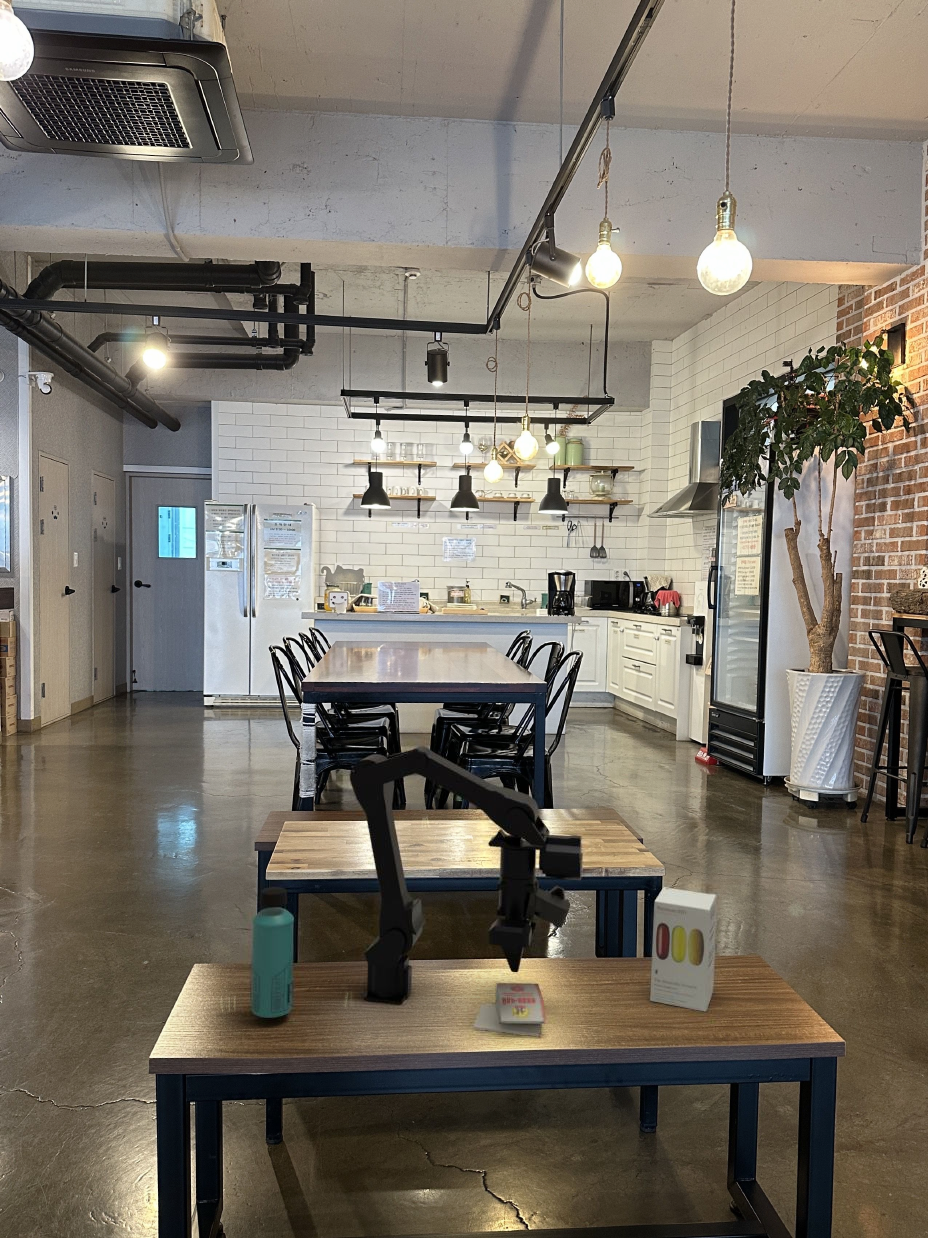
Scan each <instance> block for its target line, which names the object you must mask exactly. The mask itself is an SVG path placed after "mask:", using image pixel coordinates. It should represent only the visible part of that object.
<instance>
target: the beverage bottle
mask: <svg viewBox="0 0 928 1238" xmlns="http://www.w3.org/2000/svg"><path fill="white" fill-rule="evenodd" d="M287 893H288V892H287V890H286V888H284V887H277V886H273V887H272V886H271V887H266V888H264V889H262V890H261V891H260V899H259V906H262V907H266V908H263V909H261V910H260V911H258V913H257V914H255V916H254V917H253V918H252V946H251V948H252V949H251V950H252V951H251V952H252V953H251V956H250V957H251V963H250V967H251V980H249V981H250V983H251V984H250V991H249V992H250V993H249V994H250V998H249V999H250V1000H249V1001H250V1002H249V1003H250V1009H251V1012H252V1014H253V1015H255V1016H257V1017H260V1018H277V1017H283V1016H284V1015H287V1014H289V1013H290V1012H291V1010H292V1007H293V999H294V993H293V985H294V977H295V976H294V970H295V969H294V963H295V961H294V949H295V947H294V945H295V944H294V921H295V920H294V919H295V918H294V915H293V914H292V913H291V912H289V911H288V910H287V909H286V908H282V907H283V906H286V905H287V904H288V896H287V895H288V894H287Z"/></svg>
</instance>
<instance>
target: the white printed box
mask: <svg viewBox="0 0 928 1238" xmlns="http://www.w3.org/2000/svg"><path fill="white" fill-rule="evenodd" d="M495 984H496V986H495V1005H496V1011H497V1016H498V1021H499V1023H535V1024H542V1025H544V1024H547V1023H546V1022H547V1018H546V1011H544V1010H545V1005H544V1004H545V1003H544V998H543V995H542V991H541V989H540V985H539V983H525V982H524V983H521V982H517V983H516V982H514V983H511V982H509V983H508V982H506V983H505V982H502V983H501V982H497V983H495Z"/></svg>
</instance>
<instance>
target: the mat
mask: <svg viewBox="0 0 928 1238" xmlns="http://www.w3.org/2000/svg"><path fill="white" fill-rule="evenodd" d="M544 1011H545V1009H544ZM545 1012H546V1011H545ZM541 1028H542V1025H541V1024H535V1023H499V1021H498V1016H497V1011H496V1004H490V1003H482V1005H481V1007H480V1009H479V1012H478V1015H477V1017H476V1019H475V1021H474V1024H473V1029H472V1030H476V1029H481V1030H480V1031H485V1030H490V1031H489V1032H496V1033H502V1032H506V1033H505V1034H511V1033H513V1035H520V1034H524V1035H523V1036H528V1035H531V1036H530V1037H537V1036H539V1037H540V1034H539V1033H540V1032H541Z"/></svg>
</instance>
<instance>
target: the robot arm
mask: <svg viewBox="0 0 928 1238" xmlns="http://www.w3.org/2000/svg"><path fill="white" fill-rule="evenodd" d="M414 774H415V775H416V774H417V775H419V776H421V777H423V778H425V779H427V780H429V781H430V782H432V783H434V784H436V785H437V786H440V787H441V788H443V789H445V790H446V791H448V792H450V793H452V794H454V795H455V796H457V797H459V798H461V799H462V800H464V801H467V802H468V803H469V804H471V805H473V806H475V807H477V808H479V810H481V811H482V812H483V813H484V814H485V816H487V818H488V819H490V820H491V822H492V823H494V824H495V825H496V826H498V827H499V830H498V831H497V833H496V834H495V835H494V836H492V837H491V838H490V840H489V842H488V846H489V847H490V848H491V847H493V848H500V855H499V858H500V861H499V880H498V882H497V891H499V893H498V895H499V896H498V897H499V898H498V906H497V908H496V916H497V917H504V918H497V919H496V920H495V921H494V922H493V923H491V926H490V928H489V930H488V944H489V945H492V946H500V947H501V950H502V952H503V954H504V957H505V959H506V962H507V965H508V967H509V969H510V971H511V973H519V970H520V966H521V961H522V957H523V954H524V953H523V952H524V949H526V948H529V947H530V945H531V942H532V939H533V936H534V933H535V930H536V927H537V924H538V923H537V922H533V921H534V920H535V918H536V917H537V918H540V919H541V920H544V921H546V922H547V923H550V924H552V925H553V926H554V927H556V928H559V929H561V928H563V926H564V923H565V921H566V919H567V916H568V913H569V911H570V909H571V905H572V904H571V902H570V900H569V899H568V898H566V893H565V892H566V891H565V888H563V887H560V886H559V885H555V886H554V887H553V888H551V890H548V889H545V890H544V889H541V888H539V880H537V877H536V870H537V869H536V867H537V866H536V861H537V851H539V855H538V869H539V871H541V874H542V875H543V874H544V876H545V878H548V879H550V878H552V879H559V880H560V879H561V880H575V881H581V880H582V876H583V875H582V874H583V861H584V860H583V857H584V855H583V852H582V849H583V848H582V835H576V834H575V835H574V834H573V835H572V834H571V835H560V834H559V835H557V834H550V829H549V828H548V827H547V825H546V823H544V821H543V820H542V818H541V817H540V815H539V807H538V803H537V801H536V800H535V799H534V798H533V797H532V796H531V795H529V794H526V793H524V792H521V791H517V790H515V789H512V788H507V787H503V786H498V785H495V784H492V783H490V782H488V781H486V780H485V779H483V778H481V777H479V776H477V775H475V774H473V773H472V772H470V771H468V770H466V769H464V768H462V767H461V766H459V765H457V764H455V763H454V762H452V761H450V760H448V759H446V758H444V757H443V756H441V755H439V754H437V753H435V752H434V751H432V750H431V749H430V748H429V747H427V746H424V745H419V746H416V747H414V748H413V749H409V750H405V751H401V752H399V753H394V754H391V755H389V756H385V755H382V754H376V753H375V754H371V755H369V756H366V757H365V758H363V759H361V760H359V761H357V762H356V763H354V765H353V767H352V768H351V769H350V772H349V781H350V785H351V787H352V790H353V794H354V795H355V799H356V802H358V804H359V806H360V807H361V809H362V811H363V812H364V815H365V817H366V823H367V828H368V829H367V830H368V834H369V839H370V840H369V841H370V845H371V851H372V856H373V862H374V867H375V872H376V873H375V874H376V878H377V883H378V889H379V894H380V906H379V914H378V915H379V916H378V936H377V937H376V939H375V940H373V942H372V943H371V944H370V946H369V947H368V948H367V949H366V950H365V952H364V955H365V959H366V963H367V977H366V979H367V980H366V981H367V982H366V992H365V994H364V995H363V1000H365V1001H373V1002H381V1003H391V1004H397V1005H398V1004H403V1003H404V1001H405V999H406V998H407V996H409V995H410V992H411V991H412V984H413V983H412V979H413V977H412V975H413V974H412V972H413V966H412V965H411V964H410V955H408V954H407V953H409V952H410V951H411V949H412V948H413V947H414V944H415V943H416V942H417V940H418V939H419V938H420V936H421V934H422V932H423V925H424V924H425V923H426V919H425V916H423V912H422V899H421V898H417V899H415V900H414V899H413V898H412V896H411V894H410V893H409V892H408V889H407V884H406V879H405V874H404V873H405V872H404V868H403V862H402V857H401V851H400V845H399V839H398V833H397V829H396V822H395V819H394V812H393V801H394V792H395V791H394V790H395V781H396V780H399V779H403V778H405V777H408V776H411V775H414ZM530 920H531V921H530Z"/></svg>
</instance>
